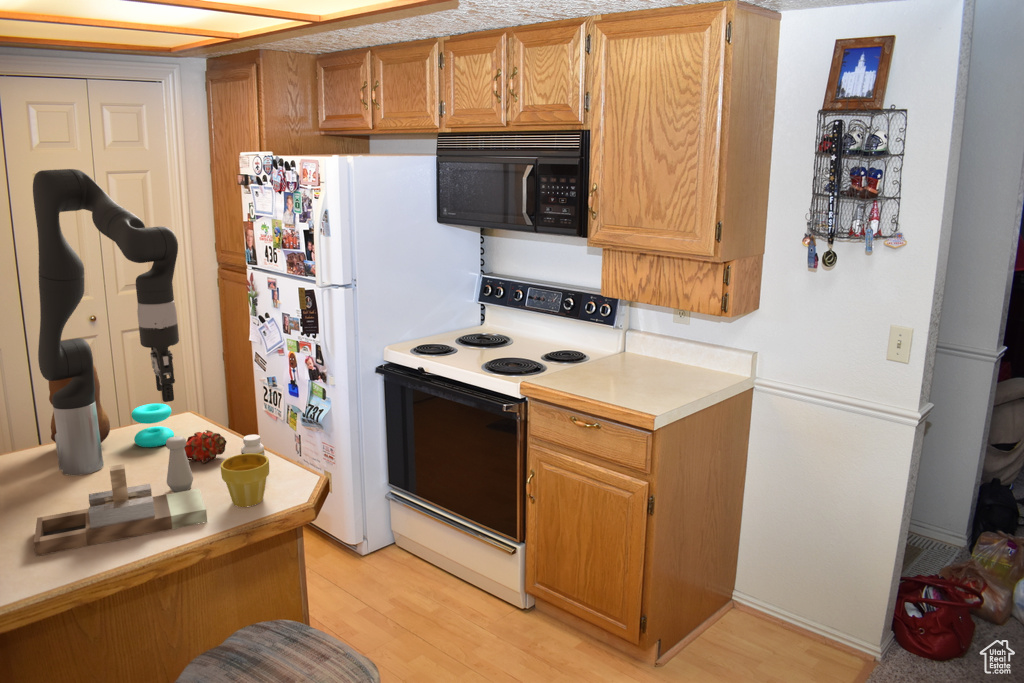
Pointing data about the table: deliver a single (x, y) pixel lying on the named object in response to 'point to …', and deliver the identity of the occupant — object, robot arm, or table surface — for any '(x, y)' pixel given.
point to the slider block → (119, 484)
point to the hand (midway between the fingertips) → (165, 395)
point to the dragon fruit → (204, 446)
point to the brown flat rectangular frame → (77, 530)
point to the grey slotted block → (121, 507)
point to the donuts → (148, 416)
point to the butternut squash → (101, 414)
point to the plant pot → (245, 478)
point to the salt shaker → (178, 465)
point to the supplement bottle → (252, 445)
